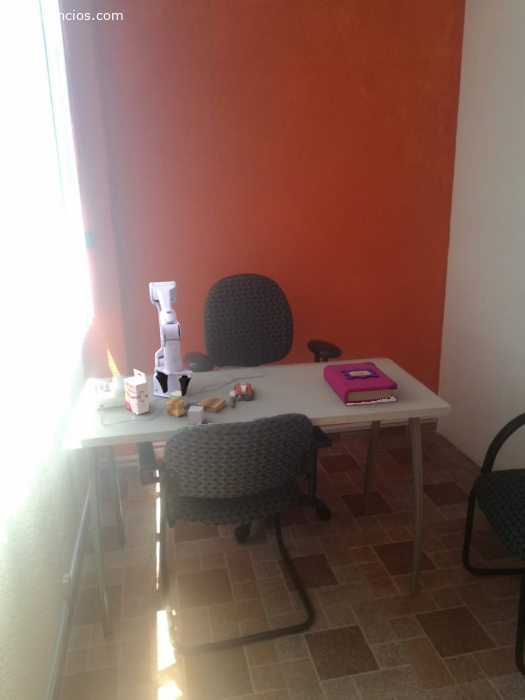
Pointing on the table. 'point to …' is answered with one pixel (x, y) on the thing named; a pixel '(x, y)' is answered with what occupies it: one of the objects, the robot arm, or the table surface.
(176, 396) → the sage block
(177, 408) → the oak block
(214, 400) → the tan flat block
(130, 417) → the table surface
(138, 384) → the ink cartridge box
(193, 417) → the slate block
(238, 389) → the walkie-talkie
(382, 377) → the book
